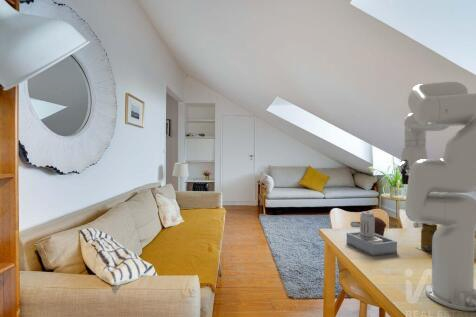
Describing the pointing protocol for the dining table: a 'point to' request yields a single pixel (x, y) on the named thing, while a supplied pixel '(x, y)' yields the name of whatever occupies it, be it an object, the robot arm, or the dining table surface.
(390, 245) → the walled box
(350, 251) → the dining table surface
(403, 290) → the dining table surface
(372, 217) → the energy drink can
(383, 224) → the muffin
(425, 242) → the condiment
